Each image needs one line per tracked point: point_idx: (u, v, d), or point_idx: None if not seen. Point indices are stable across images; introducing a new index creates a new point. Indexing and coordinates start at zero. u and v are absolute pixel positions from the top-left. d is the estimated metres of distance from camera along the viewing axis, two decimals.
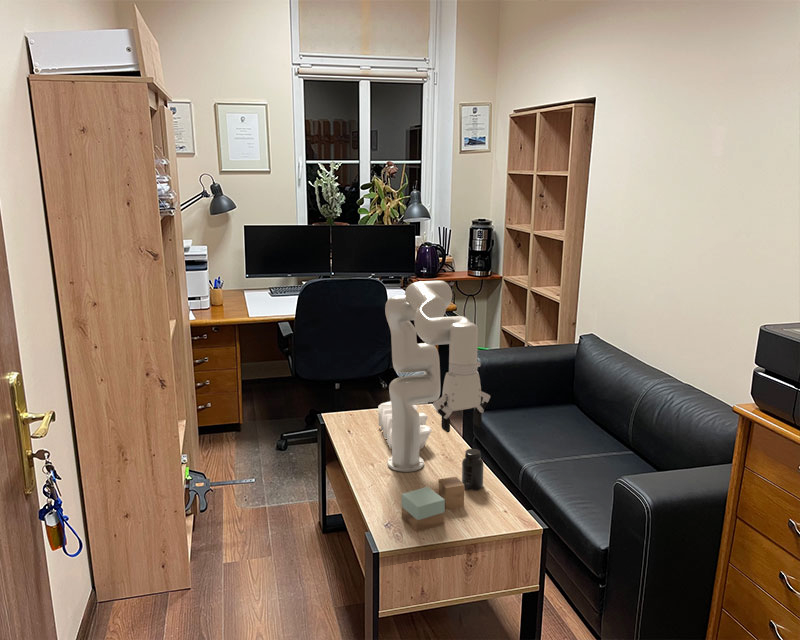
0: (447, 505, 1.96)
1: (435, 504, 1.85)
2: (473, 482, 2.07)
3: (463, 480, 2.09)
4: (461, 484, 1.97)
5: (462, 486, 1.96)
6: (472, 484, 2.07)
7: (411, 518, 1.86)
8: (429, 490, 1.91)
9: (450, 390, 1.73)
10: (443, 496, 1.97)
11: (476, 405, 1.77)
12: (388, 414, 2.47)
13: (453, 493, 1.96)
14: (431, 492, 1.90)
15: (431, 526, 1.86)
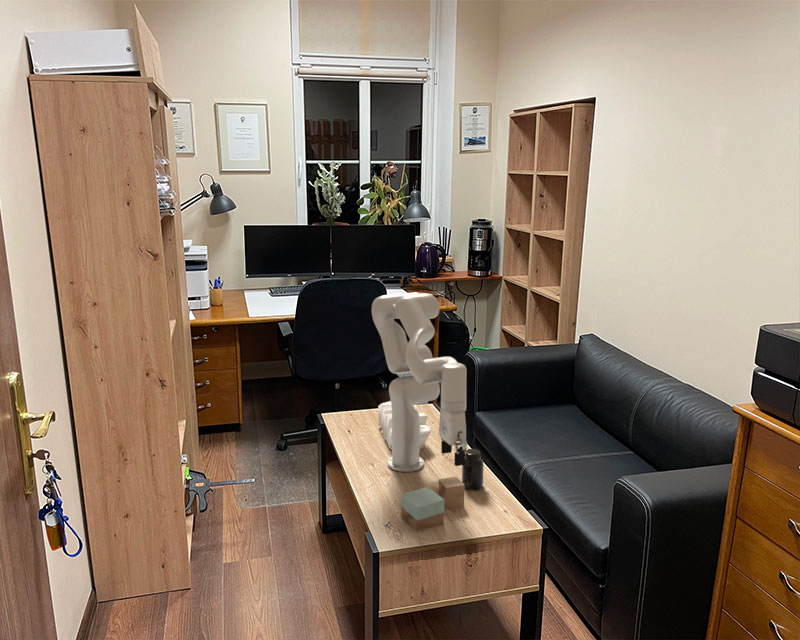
0: (447, 505, 1.96)
1: (435, 504, 1.85)
2: (473, 482, 2.07)
3: (463, 480, 2.09)
4: (461, 484, 1.97)
5: (462, 486, 1.96)
6: (472, 484, 2.07)
7: (411, 518, 1.86)
8: (429, 490, 1.91)
9: (465, 425, 1.90)
10: (443, 496, 1.97)
11: None
12: (388, 414, 2.47)
13: (453, 493, 1.96)
14: (430, 492, 1.90)
15: (431, 526, 1.86)
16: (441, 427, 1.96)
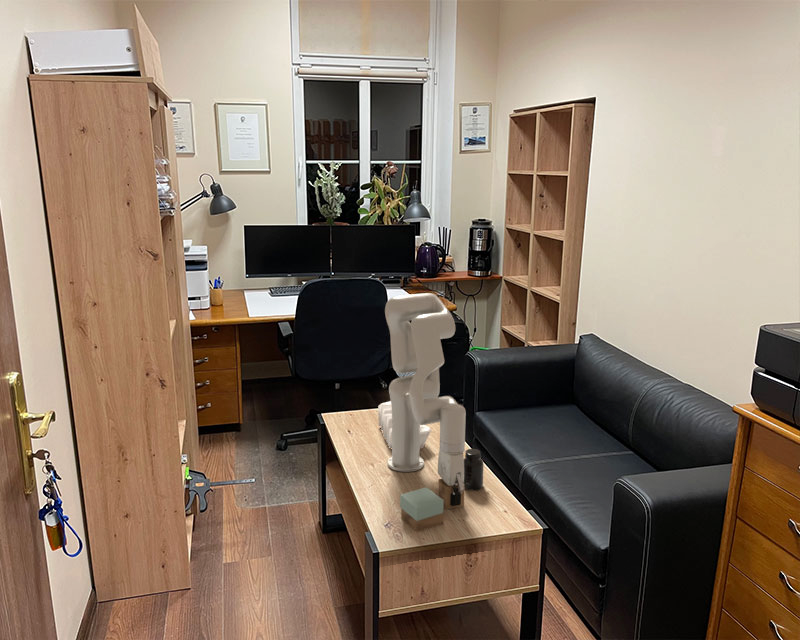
0: (447, 505, 1.96)
1: (434, 504, 1.84)
2: (473, 482, 2.07)
3: None
4: None
5: None
6: (472, 484, 2.07)
7: (411, 518, 1.86)
8: (428, 491, 1.91)
9: (463, 466, 1.93)
10: (443, 496, 1.97)
11: None
12: (388, 414, 2.47)
13: None
14: (429, 493, 1.90)
15: (431, 526, 1.86)
16: (440, 466, 1.99)
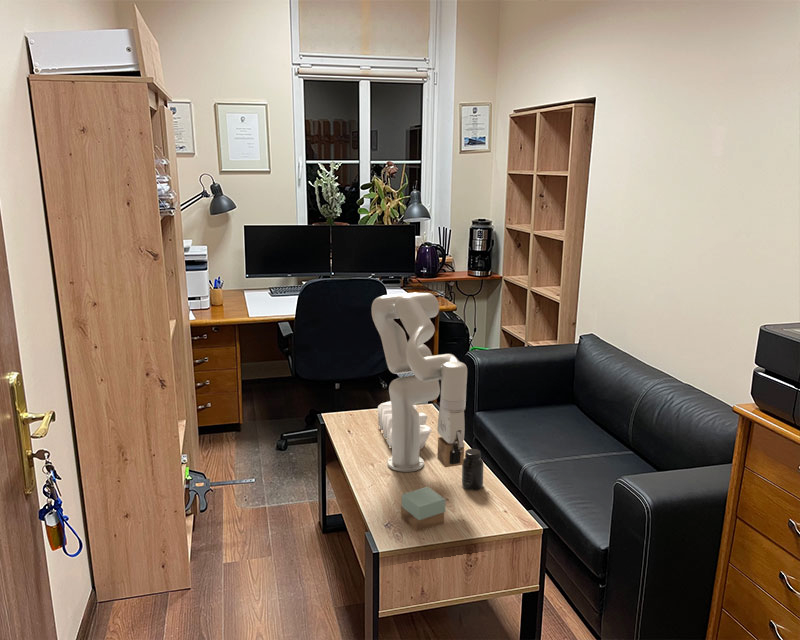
0: (446, 463, 1.94)
1: (436, 503, 1.85)
2: (473, 482, 2.07)
3: (463, 480, 2.09)
4: None
5: None
6: (472, 484, 2.07)
7: (411, 518, 1.86)
8: (429, 490, 1.92)
9: (463, 424, 1.91)
10: (443, 454, 1.95)
11: None
12: (388, 414, 2.47)
13: None
14: (431, 492, 1.90)
15: (431, 526, 1.86)
16: (440, 424, 1.96)
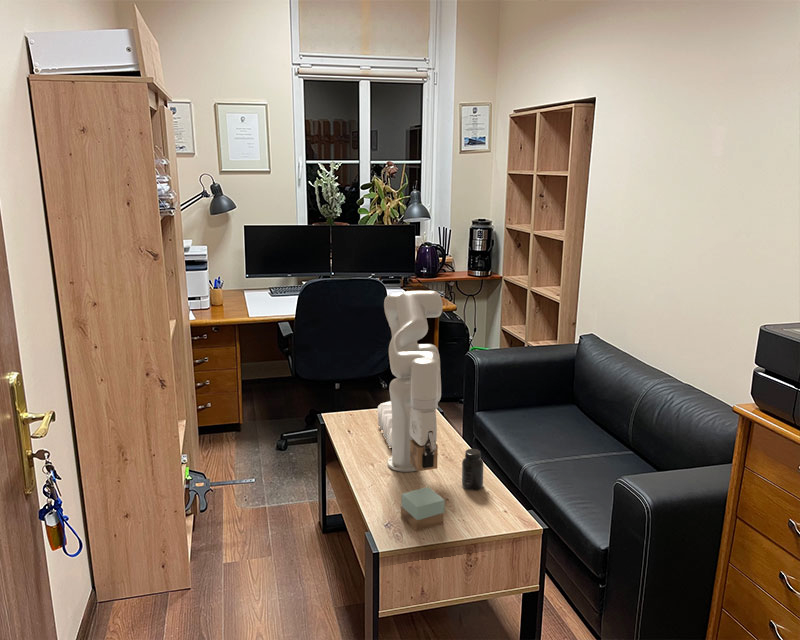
0: (419, 467, 1.82)
1: (435, 504, 1.85)
2: (473, 482, 2.07)
3: (463, 480, 2.09)
4: None
5: None
6: (472, 484, 2.07)
7: (410, 518, 1.86)
8: (429, 490, 1.91)
9: (435, 424, 1.79)
10: (415, 457, 1.83)
11: None
12: (388, 414, 2.47)
13: None
14: (431, 492, 1.90)
15: (430, 526, 1.86)
16: (411, 426, 1.85)
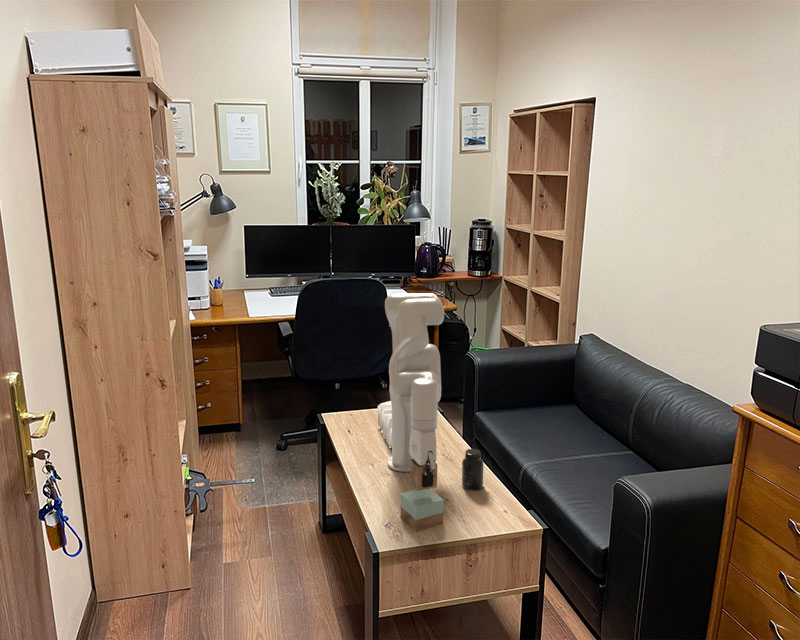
0: (419, 486, 1.83)
1: (434, 504, 1.85)
2: (473, 482, 2.07)
3: (463, 480, 2.09)
4: None
5: None
6: (472, 484, 2.07)
7: (410, 518, 1.86)
8: (428, 490, 1.92)
9: (435, 444, 1.80)
10: (415, 477, 1.84)
11: None
12: (388, 414, 2.47)
13: None
14: (430, 492, 1.90)
15: (430, 526, 1.86)
16: (411, 445, 1.86)
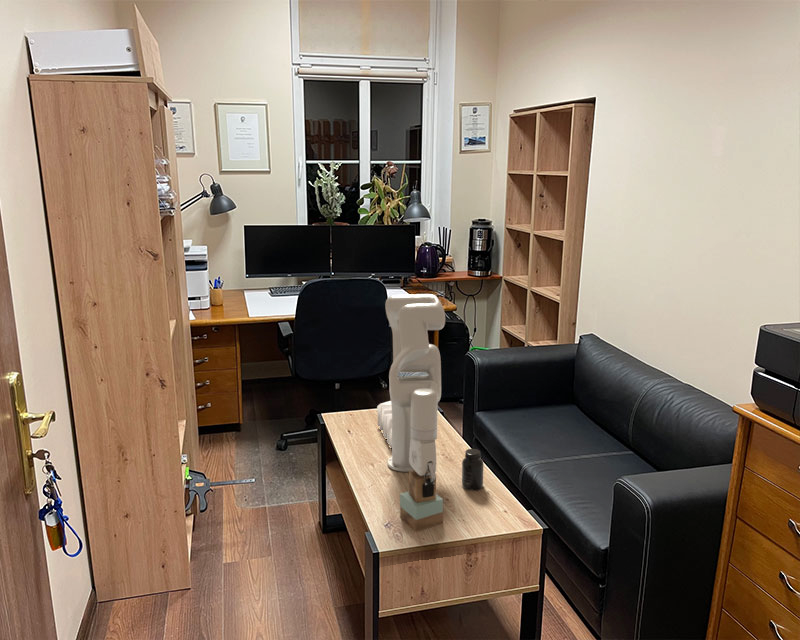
0: (417, 498, 1.84)
1: (433, 503, 1.85)
2: (473, 482, 2.07)
3: (463, 480, 2.09)
4: None
5: None
6: (472, 484, 2.07)
7: (410, 518, 1.86)
8: None
9: (435, 455, 1.81)
10: (413, 489, 1.85)
11: None
12: (388, 414, 2.47)
13: None
14: None
15: (430, 525, 1.86)
16: (411, 455, 1.87)
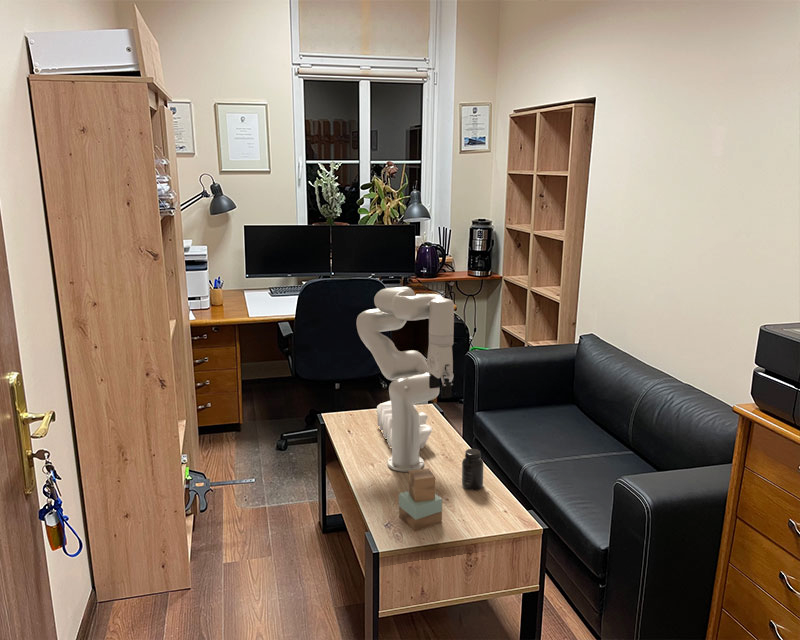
0: (416, 498, 1.84)
1: (433, 503, 1.85)
2: (473, 482, 2.07)
3: (463, 480, 2.09)
4: (432, 476, 1.85)
5: (433, 478, 1.85)
6: (472, 484, 2.07)
7: (409, 518, 1.86)
8: None
9: (451, 359, 1.96)
10: (413, 488, 1.86)
11: None
12: (388, 414, 2.47)
13: (423, 485, 1.84)
14: None
15: (429, 525, 1.86)
16: (429, 362, 2.01)
